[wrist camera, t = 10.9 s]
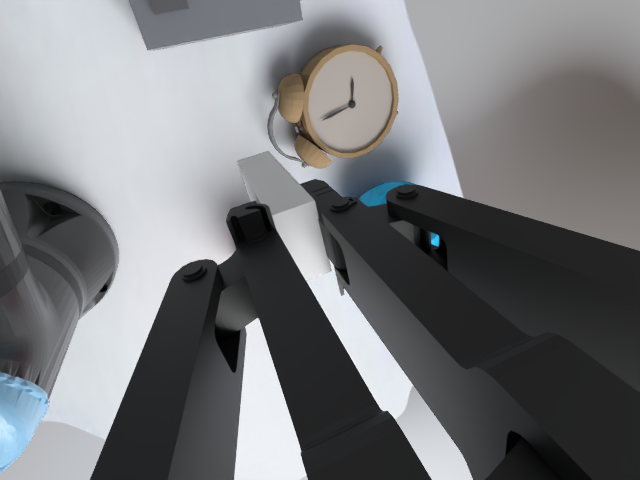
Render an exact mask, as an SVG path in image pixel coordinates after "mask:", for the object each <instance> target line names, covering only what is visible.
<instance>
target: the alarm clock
mask: <svg viewBox="0 0 640 480" xmlns="http://www.w3.org/2000/svg"><path fill="white" fill-rule="evenodd" d="M381 51H382V46H379V47H378V48H377V49H376V51H374V50H373V49H371V48H369V47H367V46H361V45H353V44H350V45H347V46H335V47H332V48H328V49H324V50H322V51H321V52H320V53H318V54H317V55H315V56H314V57H313V58H311V59H310V60H309V62H308V63H307V64H306V66H305V67H304V69H303V70H302V71H301V73H300V75H299V74H297V73H293V74H289V75H287V76H285V77H284V78H283V79H282V80H281V82H280V84H279V87H278V90H277V92H274V93H273V94H272V96H273V97H274V98H276V99H275V104H274V107H273V108H272V110H271V112H270V115H269V118H268V125H267V128H268V135H269V138H270V141H271V143H272V144H273V146H274V148H275V149H276V150H277V151H278V152H279V153H280V154H282V155H283V156H285V157H286V158H288V159H291V160H296V161H299V162H302V166H303V167H304V168H305V167H306V166H309V165H310V166H312V167H315V168H325V167H327V166H328V165H329V164H330V163H331V162H332V160H331V159H330V158H329V157H328V156H327V155H326V154H324V153H323V152H322V151H321V150H323V151H325V152H326V153H328V154H331V155H334V156H336V157H339V158H355V157H358V156H361V155H364V154H366V153H368V152H370V151H371V150H372V149H374V148H375V147H376V146H378V145H379V144H380V143H381V142H382V140H383V139H384V138H385V136H386V135H387V134H388V132H389V131H390V129H391V126H392V124H393V122H394V119H395V117H396V115H397V114H398V111H397V105H398V89H397V81H396V79H395V76H394V74H393V71H392V68H391V66H390V65H389V64H388V63H387V61H386V60H385V59H384V58H383V56H382V55H381ZM277 108H278V110H279V112H280V114H281V116H282V117H283V118H284V119H285V120H287V121H289V122H292V123H297V125H298V127H299V128H298V127H297V126H295V127H294V128H295V131H296V133H299V129H300V130H301V132H302V134H303V135H304V137H305V138H306V139H307V140H306V139H305V138H303V137H302V136H300V135H298V136H297V138H296V140H295V150H296V152H297V154H298V156H299V157H300V158H301V159H302V160H303V161H304V162H303V161H302V160H300V159H298V158H296V157H291V156H288V155H286V154H284V153H283V152H282V151H281V149H280V148H279V147H278V145H277V144H276V142H275V139H274V136H273V130H272V124H273V118H274V115H275V113H276V111H277ZM320 149H321V150H320Z"/></svg>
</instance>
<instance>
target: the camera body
mask: <svg viewBox="0 0 640 480" xmlns="http://www.w3.org/2000/svg"><path fill="white" fill-rule="evenodd" d="M129 1H130V4H131V7H132V10H133V12H134V15H135V18H136V20H137V23H138V26H139V29H140V31H141V34H142V37H143V39H144V42H145V45H146V48H147V50H159V49H164V48H169V47H174V46H179V45H184V44H189V43H195V42H200V41H205V40H210V39H215V38H220V37H225V36H230V35H235V34H241V33H246V32H251V31H256V30H261V29H266V28H271V27H276V26H281V25H285V24H289V23H292V22H296V21H300V20H303V19H302V13H301V7H300V1H299V0H129Z"/></svg>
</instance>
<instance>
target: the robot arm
mask: <svg viewBox="0 0 640 480" xmlns="http://www.w3.org/2000/svg"><path fill="white" fill-rule="evenodd" d="M237 163H238V166H239V169H240V172H241V175H242V178H243V181H244V184H245V187H246V189H247V192H248V195H249V198H250V201H251V202H249V203H246V204H244V205H241V206H238V207H235V208H232V209H230V211H229V213H228V215H227V220H226V222H227V225H228V228H229V230H230V233H231V235H232V238H233V240H234V243H235V245H236V251H235V252H234V254H233V255H232V256H231V257H230V258H229V259H228V260H226V261H225V262H223V263H221V264H220V265H218V266H217V263H216V262H214V261H213V260H208V259H205V260H198V261H195V262H191V263H188V264H187V265H185V266H183V267H182V268H181V269H180V270H178V271H177V272H176V273H175V274H174V276H173V277H172V279H171V281H170V283H169V286H168V288H167V291H166V293H165V296H164V298H163V301H162V303H161V305H160V308H159V310H158V313H157V315H156V318H155V320H154V323H153V325H152V328H151V330H150V333H149V335H148V338H147V340H146V343H145V345H144V348H143V350H142V352H141V355H140V357H139V360H138V362H137V365H136V367H135V370H134V372H133V375H132V377H131V380H130V382H129V385H128V387H127V390H126V392H125V395H124V397H123V399H122V402H121V404H120V407H119V409H118V412H117V414H116V417H115V419H114V422H113V424H112V427H111V429H110V432H109V434H108V437H107V439H106V442H105V444H104V446H103V449H102V451H101V454H100V456H99V459H98V461H97V464H96V466H95V469H94V471H93V474H92V476H91V479H90V480H234V471H235V460H236V448H237V437H238V425H239V414H240V403H241V391H242V380H243V368H244V357H245V345H246V329H245V326H246V325H248V324H249V323H250V322H252V321H253V320H255V319H256V318H258V317H259V320H260V323H261V326H262V329H263V332H264V335H265V338H266V341H267V345H268V348H269V351H270V354H271V357H272V360H273V363H274V366H275V369H276V372H277V376H278V379H279V382H280V385H281V388H282V391H283V394H284V397H285V400H286V404H287V407H288V410H289V413H290V416H291V419H292V422H293V425H294V428H295V431H296V435H297V438H298V441H299V444H300V447H301V451H302V452H301V456H302V460H303V464H304V467H305V471H306V474H307V477H308V480H432V479H431V478H430V476H429V475H428V473H427V471H426V470H425V468H424V466H423V465H422V463H421V461H420V460H419V458H418V456H417V455H416V453H415V452H414V450H413V448H412V446H411V445H410V443H409V441H408V440H407V438H406V436H405V435H404V433H403V431H402V430H401V428H400V427H399V425H398V424H397V422H396V421H395V419H394V418H393V416H392V415H391V414H390V413H389V412H388V411H382V410H381V409H380V407H379V406H378V404H377V403H376V401H375V399H374V398H373V396H372V394H371V392H370V391H369V389H368V387H367V385H366V384H365V382H364V380H363V379H362V377H361V375H360V373H359V372H358V370H357V368H356V366H355V365H354V363H353V361H352V360H351V358H350V356H349V354H348V353H347V351H346V349H345V347H344V346H343V344H342V342H341V341H340V339H339V337H338V335H337V334H336V332H335V330H334V328H333V327H332V325H331V323H330V322H329V320H328V318H327V316H326V315H325V313H324V311H323V309H322V308H321V306H320V304H319V303H318V301H317V299H316V297H315V296H314V294H313V292H312V290H311V289H310V287H309V285H308V284H307V282H306V281H307V280H310V279H312V278H315V277H318V276H320V275H323V274H325V273H328V272H330V271H332V270H331V265H330V261H329V259H330V260H331V262H332V263H333V264H334V268H335V272H336V276H337V281H338V285H339V289H340V293H341V296H342V295H344V291H343V289H344V288H345V290H346V291H347V293H348V294H349V295H350V297H351V298H352V300H353V301H354V302H355V304H356V305H357V307H358V308H359V309H360V311H361V312H362V314H363V315H364V316H365V318H366V319H367V321H368V322H369V323H370V325H371V326H372V328H373V329H374V330H375V332H376V333H377V335H378V336H379V337H380V339H381V340H382V342H383V343H384V344H385V346H386V347H387V349H388V350H389V352H390V353H391V354H392V356H393V357H394V359H395V360H396V361H397V363H398V364H399V366H400V367H401V368H402V370H403V371H404V373H405V374H406V375H407V377H408V378H409V380H410V381H411V382H412V384H413V385H414V387H415V388H416V389H417V391H418V392H419V394H420V395H421V396H422V398H423V399H424V401H425V402H426V404H427V405H428V406H429V408H430V409H431V410H432V412H433V413H434V415H435V416H436V417H437V419H438V420H439V422H440V423H441V425H442V426H443V427H444V429H445V430H446V432H447V433H448V434H449V436H450V437H451V439H452V440H453V441H454V443H455V444H456V446H457V447H458V448H459V450H460V452H461V453H462V454H463V457H464V459H465V461H466V462H467V465H468V468H469V470H470V473H471V475H472V478H473V480H640V251H638V250H634V249H631V248H628V247H624V246H621V245H618V244H614V243H611V242H608V241H604V240H601V239H597V238H594V237H591V236H588V235H584V234H581V233H578V232H574V231H571V230H567V229H564V228H561V227H557V226H554V225H551V224H548V223H544V222H541V221H537V220H534V219H531V218H528V217H524V216H521V215H518V214H514V213H511V212H508V211H504V210H501V209H498V208H494V207H491V206H488V205H484V204H481V203H478V202H474V201H471V200H467V199H464V198H461V197H458V196H454V195H451V194H448V193H444V192H441V191H438V190H434V189H431V188H427V187H424V186H420V185H409V184H404V185H403V186H402V185H400V186H397V187H395V188H393V189H391V190H390V191H388V192H387V194H386V204H381V205H376V206H366V205H365V204H364V203H363V202H362V201H360V200H359V199H356V198H353V197H342V196H340V195H339V194H338V193H337V192H336V191H335V190H333V189H332V188H331V187H329V185H328V184H327V183H325V182H324V181H321V180H317V179H314V180H311V181H308V182H305V183H302V184H299V183H298V182H297V181H296V180H295V179H294V178H293V177H292V176H291V175H290V173H289V172H288V171H287V170H286V169H285V168H284V167H283V166H282V165H281V164H280V163H279V162H278V161H277V160H276V159H275V158H274V157H273V155H272V154H271V153H270V152H269V151H266V152H263V153H260V154H257V155H254V156H251V157H247V158H244V159H241V160H238V161H237ZM431 232H432V233H434V234H437V235H438V236H439V247H438V246H435V245H433V244H431ZM118 262H119V250H118V245H117V241H116V238H115V236H114V234H113V231H112V230H111V228H110V226H109V225H108V223H107V222H106V221H105V220H104V218H103V217H102V216H101V215H100V214H99V213H98V212H97V211H96V210H95V209H93V208H92V207H91V206H90V205H88V204H87V203H85V202H84V201H82V200H81V199H79V198H77V197H75V196H74V195H71V194H69V193H67V192H65V191H62V190H59V189H56V188H53V187H50V186H46V185H41V184H35V183H27V182H7V183H0V473H1V472H3V471H4V470H5V469H6V468H8V466H10V465H11V463H12V462H13V461H15V460H16V459H17V458H18V457H19V456H20V455H21V454H22V453H23V451H24V450H25V449H26V447H27V445H28V444H29V442H30V440H31V438H32V436H33V434H34V433H35V431H36V429H37V427H38V425H39V423H40V421H41V420H42V418H43V417H44V416H45V414H46V412H47V409H48V407H49V405H48V404H49V397H50V395H51V392H52V389H53V387H54V384H55V381H56V379H57V376H58V373H59V371H60V368H61V365H62V363H63V360H64V357H65V355H66V352H67V349H68V347H69V344H70V341H71V339H72V336H73V333H74V331H75V328H76V325H77V322H78V320H79V319H80V318H81V317H82V316H84V315H85V314H86V313H87V312H88V311H89V310H90V309H92V308H93V307H94V306H95V305H96V304H97V303H98V302H99V301H100V300H101V299H102V298H103V297H104V296H105V294H106V293H107V292H108V290H109V288H110V287H111V285H112V283H113V280H114V277H115V274H116V270H117V267H118Z"/></svg>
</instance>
